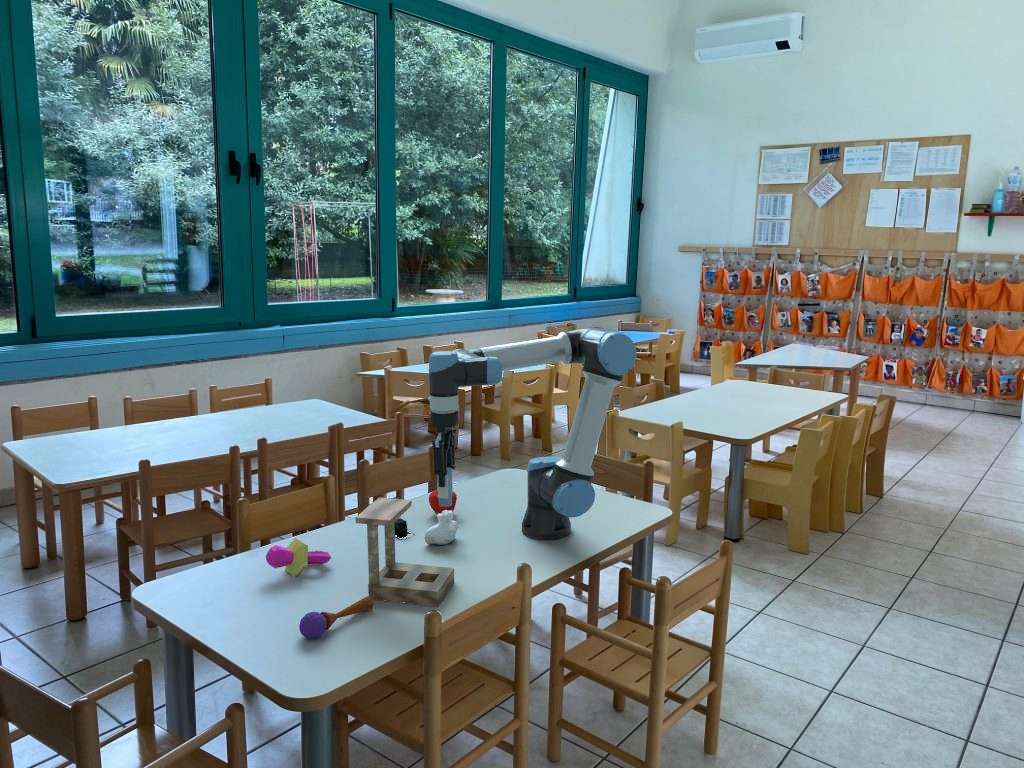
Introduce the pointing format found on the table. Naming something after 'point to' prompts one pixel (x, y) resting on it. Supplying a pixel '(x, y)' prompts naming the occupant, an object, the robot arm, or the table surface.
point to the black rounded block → (401, 528)
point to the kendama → (330, 618)
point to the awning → (385, 515)
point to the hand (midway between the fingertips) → (445, 495)
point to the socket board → (413, 584)
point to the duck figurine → (442, 529)
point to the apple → (435, 502)
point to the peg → (444, 501)
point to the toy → (295, 557)
